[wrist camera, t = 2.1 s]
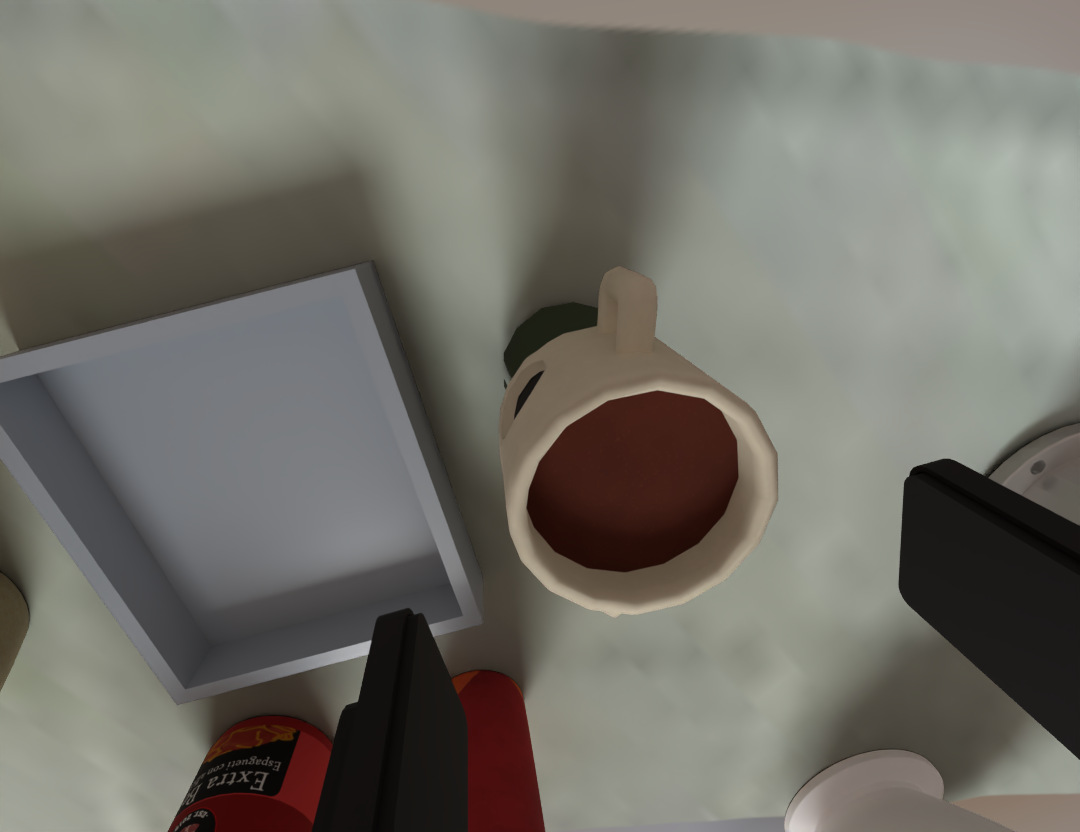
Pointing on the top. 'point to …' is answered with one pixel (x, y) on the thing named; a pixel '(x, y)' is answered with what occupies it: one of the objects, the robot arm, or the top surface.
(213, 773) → the canned food
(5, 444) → the grey bin
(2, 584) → the plant pot
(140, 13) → the top surface
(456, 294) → the top surface
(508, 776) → the paper cup
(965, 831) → the decorative vase
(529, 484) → the character mug
